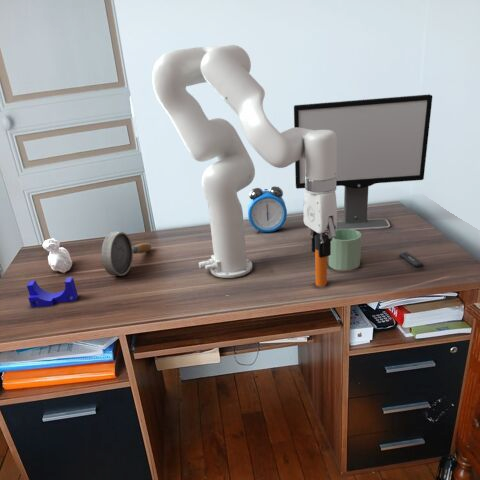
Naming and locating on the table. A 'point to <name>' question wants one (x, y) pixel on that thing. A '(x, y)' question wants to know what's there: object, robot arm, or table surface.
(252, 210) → the alarm clock
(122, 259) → the frying pan
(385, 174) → the computer monitor
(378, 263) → the table surface
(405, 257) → the usb stick
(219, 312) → the table surface
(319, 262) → the marker
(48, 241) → the bust
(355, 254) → the pen holder
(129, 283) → the table surface
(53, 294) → the blue cradle stand
